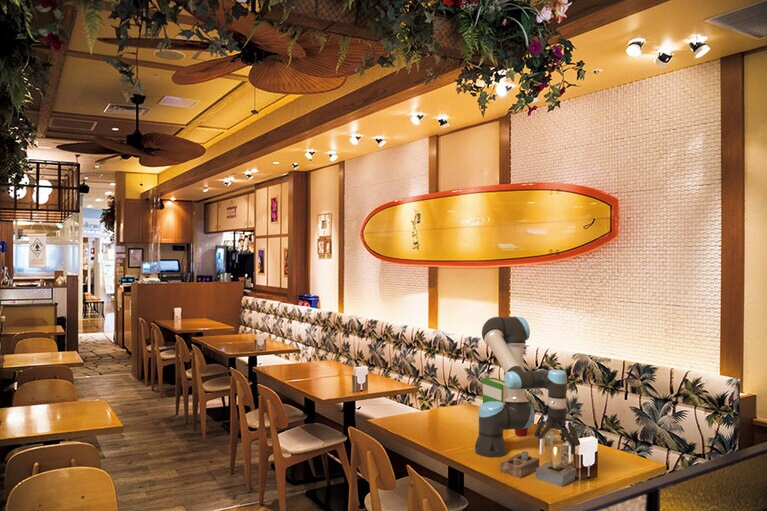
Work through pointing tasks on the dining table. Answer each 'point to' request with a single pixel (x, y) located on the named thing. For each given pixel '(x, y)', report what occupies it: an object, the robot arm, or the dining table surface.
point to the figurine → (566, 455)
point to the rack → (519, 465)
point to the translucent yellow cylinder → (556, 458)
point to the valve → (553, 437)
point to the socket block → (556, 474)
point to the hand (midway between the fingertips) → (556, 457)
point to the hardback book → (494, 390)
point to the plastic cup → (521, 432)
